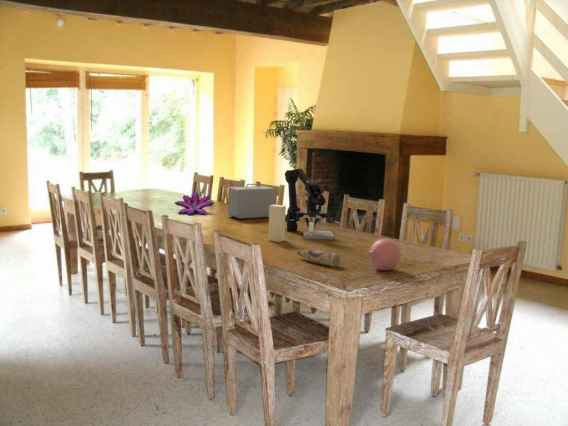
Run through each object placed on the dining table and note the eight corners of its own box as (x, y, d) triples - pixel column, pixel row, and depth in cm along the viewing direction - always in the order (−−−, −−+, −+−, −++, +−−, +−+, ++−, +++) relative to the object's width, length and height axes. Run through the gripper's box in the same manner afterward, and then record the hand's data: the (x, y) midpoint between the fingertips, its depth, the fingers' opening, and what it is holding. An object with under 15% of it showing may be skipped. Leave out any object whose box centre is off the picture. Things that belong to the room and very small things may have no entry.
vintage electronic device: (264, 214, 450) (265, 181, 446) (276, 217, 435) (277, 184, 431) (226, 216, 434) (227, 182, 430) (237, 220, 419) (238, 185, 415)
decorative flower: (213, 222, 437) (212, 211, 431) (172, 224, 438) (170, 213, 432) (217, 200, 462) (215, 189, 457) (178, 202, 463) (176, 191, 457)
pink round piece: (354, 269, 287) (356, 238, 284) (384, 264, 298) (386, 235, 295) (376, 276, 274) (378, 244, 272) (406, 271, 285) (408, 240, 283)
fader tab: (307, 233, 364) (308, 223, 363) (307, 232, 369) (307, 222, 368) (314, 233, 364) (314, 224, 364) (313, 232, 369) (314, 222, 368)
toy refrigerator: (285, 239, 354) (286, 205, 350) (280, 242, 347) (281, 206, 344) (273, 238, 357) (274, 204, 354) (268, 240, 350) (268, 205, 347)
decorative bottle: (341, 266, 293) (341, 253, 292) (331, 268, 287) (332, 255, 286) (302, 256, 310) (303, 244, 309) (293, 259, 305) (293, 246, 304)
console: (304, 238, 359) (304, 233, 359) (303, 233, 375) (303, 229, 375) (333, 239, 360) (333, 234, 359) (331, 234, 375) (331, 230, 375)
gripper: (297, 205, 356) (296, 230, 358) (328, 206, 356) (327, 231, 359) (296, 202, 367) (295, 227, 369) (326, 203, 367) (325, 228, 370)
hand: (311, 228), depth 366 cm, fingers closed on fader tab, 3 cm apart
